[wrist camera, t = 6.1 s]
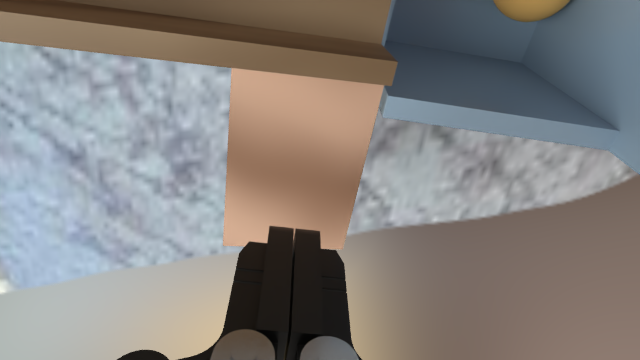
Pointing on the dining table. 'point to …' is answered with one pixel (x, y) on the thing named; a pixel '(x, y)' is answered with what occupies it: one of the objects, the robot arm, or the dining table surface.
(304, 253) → the robot arm
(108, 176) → the dining table surface
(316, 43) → the lever
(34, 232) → the dining table surface
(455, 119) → the blue open bin
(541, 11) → the ball
